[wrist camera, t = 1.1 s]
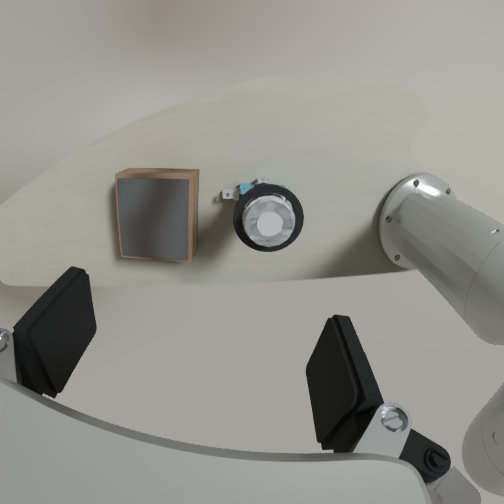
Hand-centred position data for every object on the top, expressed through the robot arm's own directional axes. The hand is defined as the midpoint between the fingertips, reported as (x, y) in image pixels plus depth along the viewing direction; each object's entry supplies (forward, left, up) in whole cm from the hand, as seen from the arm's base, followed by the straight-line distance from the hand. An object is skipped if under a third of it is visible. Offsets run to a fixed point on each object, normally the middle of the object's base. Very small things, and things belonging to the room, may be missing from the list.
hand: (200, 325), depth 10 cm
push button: (-3, 0, -21) cm, 21 cm away
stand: (+7, +2, -21) cm, 22 cm away
